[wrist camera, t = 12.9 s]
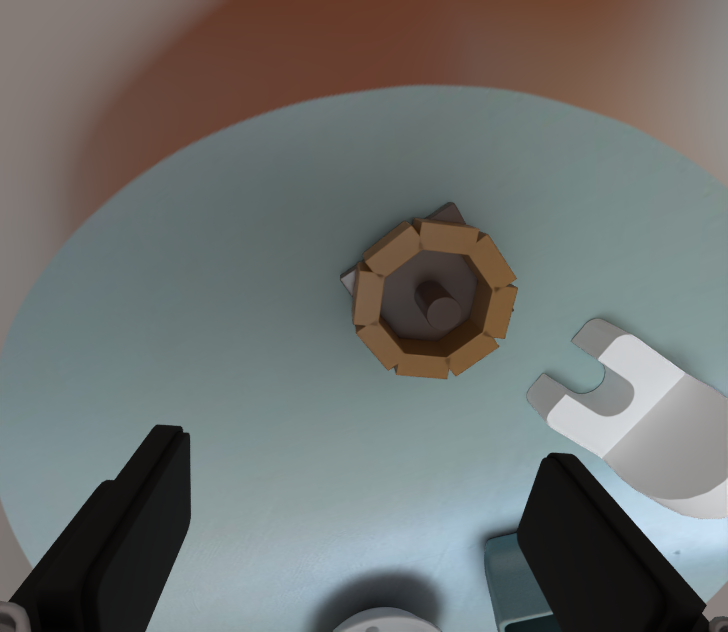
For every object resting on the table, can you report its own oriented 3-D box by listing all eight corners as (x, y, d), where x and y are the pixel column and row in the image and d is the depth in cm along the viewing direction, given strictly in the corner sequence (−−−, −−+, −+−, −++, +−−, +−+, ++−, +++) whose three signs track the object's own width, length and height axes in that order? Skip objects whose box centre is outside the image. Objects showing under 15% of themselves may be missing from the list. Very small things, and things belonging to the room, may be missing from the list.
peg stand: (339, 275, 30) (339, 296, 24) (449, 201, 28) (475, 205, 23) (406, 369, 33) (418, 405, 28) (508, 306, 32) (542, 331, 26)
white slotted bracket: (652, 478, 39) (764, 583, 28) (521, 398, 35) (596, 487, 24) (726, 408, 36) (877, 496, 26) (594, 313, 32) (711, 373, 22)
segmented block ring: (324, 283, 29) (322, 294, 26) (445, 187, 27) (458, 188, 24) (409, 384, 32) (416, 404, 29) (523, 304, 30) (542, 317, 27)
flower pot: (477, 586, 42) (512, 687, 34) (464, 529, 39) (498, 624, 31) (555, 568, 42) (609, 664, 34) (547, 509, 39) (605, 599, 31)
